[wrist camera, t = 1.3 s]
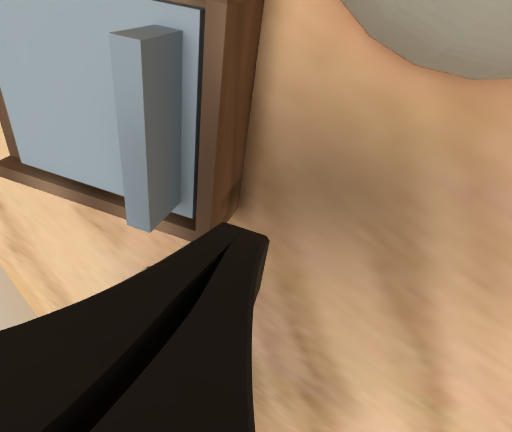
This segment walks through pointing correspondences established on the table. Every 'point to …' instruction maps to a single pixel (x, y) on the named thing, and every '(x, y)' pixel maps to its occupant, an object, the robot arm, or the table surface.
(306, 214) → the table surface
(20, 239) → the table surface
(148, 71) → the lid
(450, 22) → the kitchen timer
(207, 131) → the box
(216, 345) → the robot arm
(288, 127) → the table surface
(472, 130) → the table surface
